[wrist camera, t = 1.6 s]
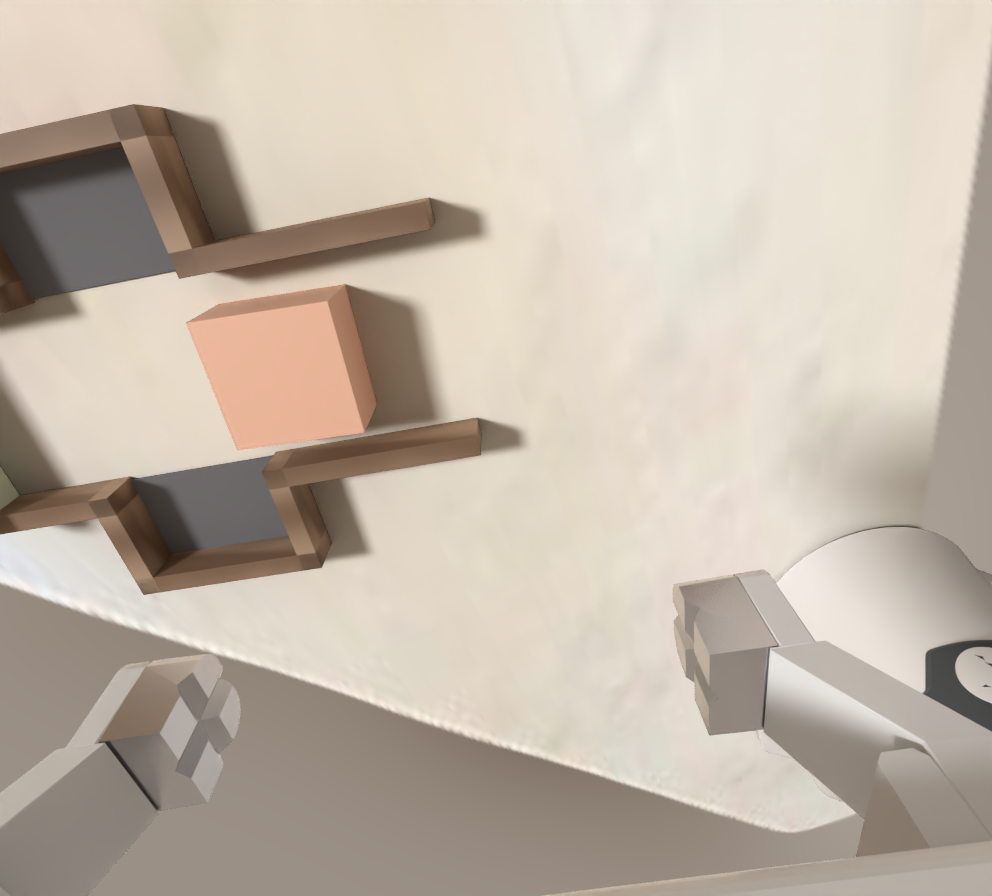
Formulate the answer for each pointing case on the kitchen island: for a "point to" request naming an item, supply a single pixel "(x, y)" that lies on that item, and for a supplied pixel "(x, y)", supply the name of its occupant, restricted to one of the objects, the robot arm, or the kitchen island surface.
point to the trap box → (190, 251)
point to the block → (286, 367)
